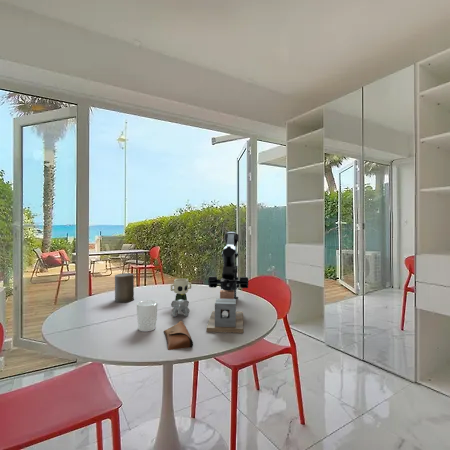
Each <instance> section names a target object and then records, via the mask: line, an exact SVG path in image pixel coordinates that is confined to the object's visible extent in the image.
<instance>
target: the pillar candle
mask: <svg viewBox="0 0 450 450" xmlns="http://www.w3.org/2000/svg"><path fill="white" fill-rule="evenodd" d="M134 276H135V274H134V273H131V272H130V273H129V272H124V273H123V272H122V273H117V274H115V275H114V302H116V303H128V302H132V301H134V300H135V299H134V298H135V297H134V296H135V291H134V290H135V289H134V288H135V282H134V279H135V277H134Z"/></svg>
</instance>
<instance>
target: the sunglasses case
mask: <svg viewBox="0 0 450 450" xmlns="http://www.w3.org/2000/svg"><path fill="white" fill-rule="evenodd" d="M163 333H164V335H165V338H166V342H167V350H168V351H172V350H173V351H174V350H179V349H180V350H181V349H188V348H189V349H190V348H193V346H194V342H193V340H192V339H193V338H192V336H191V334H190V333H189V331H188V327H186V325H185V324H184V321H183V320H180V321H178V322H177V323H176V324H174V325H173V326H170V327H168V328H167V329H164V330H163Z"/></svg>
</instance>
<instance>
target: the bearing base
mask: <svg viewBox="0 0 450 450" xmlns="http://www.w3.org/2000/svg"><path fill="white" fill-rule="evenodd" d="M222 309H223V310H229V313H228V317H227V318H223V317H222ZM205 328H206V331H205V332H206V333H207V332H208V333H231V332H233V334H234V333H236V334H237V333H238V334H241V333H242V334H244V311H237V298H236V299H220V298H216V299H215V302H214V310H212V311H211V314H210V317H209V320H208V323H207V325H206V327H205Z"/></svg>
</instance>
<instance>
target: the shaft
mask: <svg viewBox="0 0 450 450" xmlns="http://www.w3.org/2000/svg"><path fill="white" fill-rule="evenodd" d="M219 299H234V290H223V289H220V291H219ZM228 313H229V310H223V309H222V317H223V318H227V317H228Z"/></svg>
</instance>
